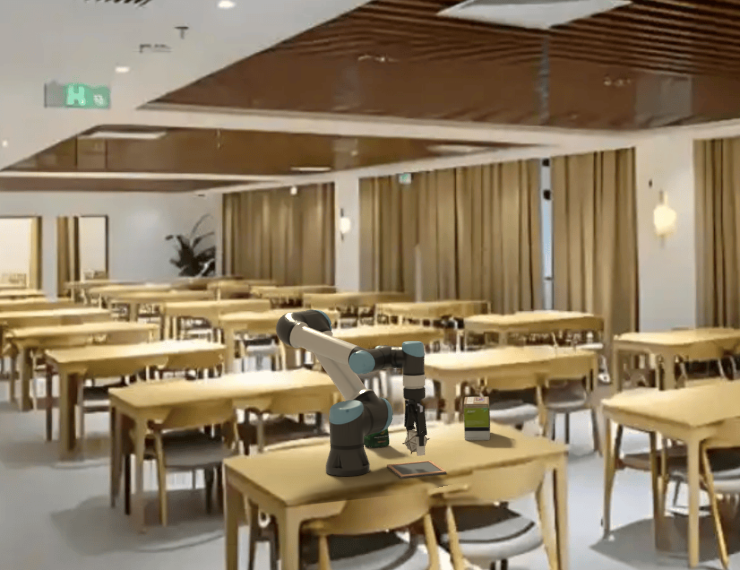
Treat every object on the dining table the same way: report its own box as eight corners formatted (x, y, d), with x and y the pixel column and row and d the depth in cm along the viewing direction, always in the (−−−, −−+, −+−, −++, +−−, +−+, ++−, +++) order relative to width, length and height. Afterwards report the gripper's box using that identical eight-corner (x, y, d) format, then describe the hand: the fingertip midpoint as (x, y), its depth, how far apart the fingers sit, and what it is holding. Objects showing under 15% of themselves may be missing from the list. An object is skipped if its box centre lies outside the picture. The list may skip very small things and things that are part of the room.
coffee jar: (370, 449, 345) (369, 400, 344) (360, 445, 352) (359, 397, 351) (393, 446, 349) (391, 398, 348) (382, 442, 356) (381, 395, 355)
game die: (420, 464, 311) (426, 444, 304) (397, 455, 312) (403, 435, 306) (428, 446, 318) (434, 427, 311) (405, 437, 319) (411, 418, 313)
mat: (401, 478, 303) (401, 475, 303) (386, 467, 318) (386, 464, 318) (446, 473, 307) (446, 471, 307) (430, 462, 322) (430, 460, 322)
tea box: (465, 432, 371) (464, 396, 370) (490, 432, 370) (489, 396, 369) (464, 440, 356) (463, 402, 355) (490, 440, 355) (489, 402, 354)
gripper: (435, 390, 301) (437, 458, 303) (414, 381, 323) (415, 444, 324) (414, 392, 299) (416, 460, 300) (393, 383, 321) (395, 446, 322)
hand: (416, 452), depth 312 cm, fingers closed on game die, 9 cm apart
